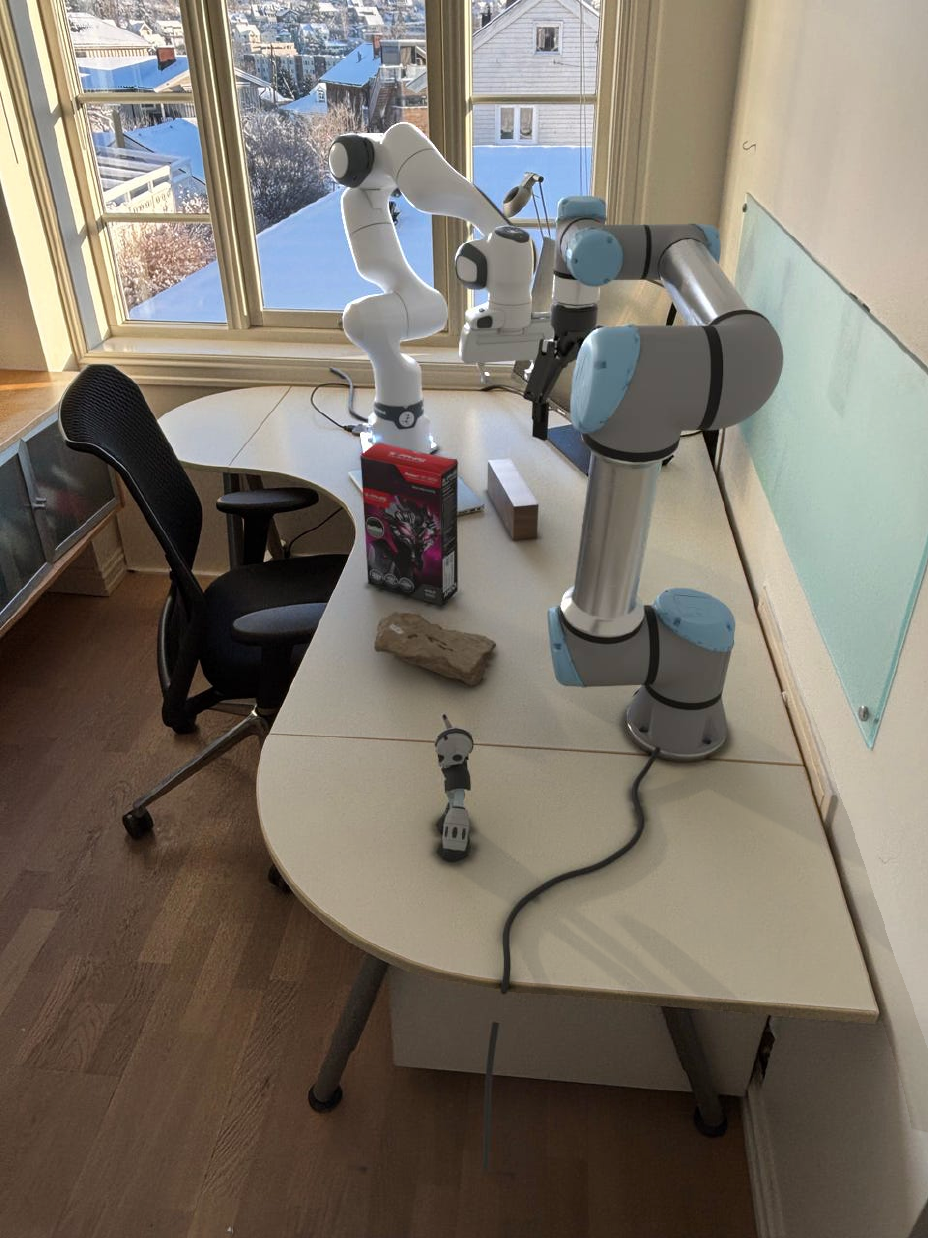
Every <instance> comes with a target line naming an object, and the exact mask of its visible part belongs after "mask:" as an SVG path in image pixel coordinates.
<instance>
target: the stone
mask: <svg viewBox="0 0 928 1238" xmlns="http://www.w3.org/2000/svg"><path fill="white" fill-rule="evenodd" d="M496 647H497V642H496V641H494V640H493V639H491V638H489V637H487V636H486V635H482V634H477V633H470V632H465V631H464V632H462V631H459V630H457V629H447V628H442V627H441V626H440V624H438V623H432V622H431V621H430V620H429V619H427V618H425V617H423V616H422V614H419V613H412V612H398V611H395V612H392V613H389V614H387V615H386V616H384V617H383V618H380V620H379V621H378V623H377V627H376V636H375V641H374V647H373V649H374V651H375V652H377V653H380V652H381V653H382V652H383V653H389V654H391V655H392V656H393V657H394V659H395V660H397V661H402V662H407V664H410V665H414V666H420V667H421V668H423V669H427V670H430V671H432V672H433V673H437V674H439V675H441V676H443V677H445V678H449V679H458V680H460V681H462V682H463V683H465V684H467V685H470V686H476V685H478V684H479V683H480V682H481V680H482V678H483V676H484V673H485V667H486V665H487V663H488V661H489V659H490V656H491V655H492V654H493V652H494V649H495V648H496Z"/></svg>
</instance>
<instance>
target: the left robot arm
mask: <svg viewBox="0 0 928 1238" xmlns="http://www.w3.org/2000/svg"><path fill="white" fill-rule="evenodd" d="M327 166H328V170H329V173H330V176H331V178H332V179H333V181H334V182H335V183H337V184H338V185H340V186H342V187H344V188H346V189H345V190H344V192H343V193H342V195H341V199H340V204H341V206H340V207H341V213H342V214H341V215H342V220H343V225H344V230H345V234H346V238H347V241H348V245H349V248H350V251H351V255H352V258H353V261H354V264H355V268H356V271H357V272H358V274H359V275H360V276H361V278H363V280H366V281H368V282H370V283H372V284H375V285H376V286H378V287H379V288H380V289H381V290H382V291H383V292H384V293H378V294H372V295H366V296H363V297H361V298H358V299H355V300H353V301H351V302H349V303H348V304H347V305H346V307H345V309H344V311H343V315H342V327H343V331H344V333H345V336H346V337H347V338H348V340H349V341H350V342H351V343H352V344H353V345H355V346H356V347H358V348H359V349H361V350H362V351H363V352H364V353H365V355H366V356H367V357H368V360H369V361H370V363H371V367H372V370H373V377H374V385H375V386H374V387H375V398H374V401H373V412H372V413H371V414H370V415H369V416H368V417H364V416H362V415H360V414H358V413H357V412H356V411H355V410H354V409H353V397H354V385H353V382H352V380H351V378H350V377H349V376H348V375H347V374H346V373H344V372H342V371H340V370H339V369H336V368H335V367H332V366H329V367H328V369H329V370H330V371H332V372H334V373H336V374H338V375H340V376H342V377H343V378H344V379H345V380H346V381H347V382H348V385H349V397H348V410H349V412H350V414H351V415H352V416H354V417H355V418H357V419H358V420H360V421H363V422H366V423H363V424H362V432H360V434H359V440H360V444H361V449H362V454H363V453H364V452H365V451H366V450H367V449H368V448H370V447H371V446H373V445H374V444H376V443H378V442H379V443H384V444H388V445H392V446H397V447H401V448H405V449H410V450H414V451H418V452H422V453H427V454H431V453H432V452H434V451H436V450H437V449H438V446H437V443H435V442H434V441H433V440H434V438H433V436H432V434H431V433H432V432H431V423H430V422H431V421H430V418H429V417H428V416H427V415H426V414H424V413H425V401H424V400H425V399H424V397H423V392H422V391H423V387H422V386H423V385H422V382H423V381H422V369H421V366H420V364H419V363H418V362H417V360H415V359H414V358H412V357H411V356H409V355H406V354H404V353H402V351H401V343H402V342H407V341H413V340H419V339H425V338H428V337H430V336H433V335H435V334H436V333H439V332H441V331H442V330H444V329H445V327H446V325H447V322H448V319H449V307H448V303H447V301H446V299H445V297H444V296H443V294H442V293H441V292H440V291H438V290H437V289H435V288H433V287H432V286H429V285H428V284H427V283H426V282H424V281H423V280H422V279H421V278H420V277H419V276H418V275H417V274H416V273H415V271H414V269H412V267H411V266H410V264H409V262H408V261H407V259H406V257H405V253H404V252H403V248H402V246H401V243H400V240H399V236H398V234H397V231H396V227H395V224H394V221H393V217H392V215H391V212H390V211H391V210H390V206H389V205H390V204H389V202H390V199H391V197H392V198H396V199H398V198H400V197H401V196H403V197H404V198H405V200H406V201H407V202H408V203H409V204H410V205H411V206H412V207H413V208H414V209H416V210H417V211H419V212H422V213H425V214H429V215H438V216H447V217H451V218H452V217H453V218H458V219H461V220H463V221H466V222H468V223H470V225H472V226H473V227H474V228H475V229H476V230H477V231H478V232H479V233H480V234H481V236H483V237H480V238H475V239H472V240H469V241H466V242H463V243H462V244H461V245H460V246H459V248H458V249H457V252H456V254H455V259H454V260H455V261H454V266H455V267H454V268H455V274H456V277H457V279H458V281H459V282H460V283H461V285H462V286H463V287H464V288H465V289H467V290H472V291H480V290H484V291H486V292H487V295H488V296H487V302H486V303H483V304H480V305H477V306H476V307H473V308H470V309H468V310H466V311H465V313H464V318H465V322H466V323H465V324H464V325H463V326H462V329H461V331H460V337H459V346H458V347H459V348H458V355H459V358H460V360H461V361H462V362H463V363H464V364H466V365H471V364H475V366H476V368H477V369H478V371H479V373H480V381H481V383H482V384H490V383H491V381H490V379H491V375H490V374H489V372H485V370H484V369H483V368H485V367H486V363H487V364H489V363H502V362H517V361H518V362H519V361H530V362H531V364H530V366H529V368H528V369H524V380H525V381H529V378H530V375H531V372H532V369H533V366H534V363H535V361H536V358H537V355H538V350H539V342H540V340H541V339H546V340H552V339H553V336H554V329H553V327H552V326H551V324H550V317H551V311H545V312H532V305H533V304H532V303H533V302H532V301H533V296H532V292H531V286H532V282H533V279H534V275H535V273H536V271H537V270H538V266H539V260H540V257H539V250H538V247H537V245H536V243H535V241H534V239H532V237H531V235H530V233H529V232H528V231H526V230H525V229H524V228H521V227H519V226H516V225H515V224H513V222H512V221H511V220H510V219H509V218H508V217H507V216H506V214H504V213H503V212H502V210H500V208H499V207H498V206H497V205H496V204H495V203H494V202H493V200H492V199H490V198H489V196H488V195H487V194H486V193H485V192H484V191H483V190H482V189H481V188H480V187H479V186H478V185H476V184H475V183H474V182H472V181H471V180H469V179H467V178H466V177H465V176H463V175H462V174H461V173H459V172H458V171H457V170H456V169H454V167H453V166H451V165H450V164H449V163H448V162H447V161H446V159H445V158H444V157H443V155H442V154H441V153H440V152H439V150H438V149H437V148H436V146H435V145H434V144H433V142H432V141H431V140H430V139H429V138H428V137H427V136H426V134H424V133H423V132H422V130H420V129H419V128H418V127H417V126H415V125H414V124H412V123H410V122H399V123H396V124H393V125H391V127H389V128H388V129H387V130H386V132H385V133H377V132H373V133H353V132H351V133H345V134H341V135H338V136H337V137H335V138H334V139H333V140H332V141H331V144H330V146H329V149H328V152H327Z"/></svg>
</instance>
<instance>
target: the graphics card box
mask: <svg viewBox="0 0 928 1238" xmlns="http://www.w3.org/2000/svg"><path fill="white" fill-rule="evenodd" d="M359 458H360V470H361V486H362V487H361V488H362V504H363V518H364V534H365V535H364V537H365V551H366V572H367V584H369V585H371V586H374V587H378V588H382V589H384V590H387V591H390V592H391V591H392V592H395V593H397V594H402V595H406V596H408V597H412V598H415V599H418V600H422V601H426V602H429V603H433V604H435V605H439V606H443V605H444V604H446V602H448V601H449V600H450V599H451V598H452V597H453V596H454V595H455V594H456V593H457V592H458V589H459V584H458V583H459V576H458V575H459V574H458V573H459V555H458V554H459V553H458V552H459V551H458V550H459V548H458V547H459V545H458V542H459V541H458V537H459V536H458V535H459V534H458V532H459V531H458V506H459V505H458V503H459V502H458V494H459V493H458V490H459V489H458V484H459V483H458V482H459V481H458V480H459V479H458V477H459V475H458V473H459V468H458V467H459V461H458V458H448V457H444V456H440V455H435V454H431V453H430V454H427V453H422V452H418V451H414V450H410V449H405V448H401V447H397V446H392V445H388V444H384V443H379V442H378V443H376V444H374V445H373V446H371V447H370V448H368V449H367V450H366V451H365V452H364V453H363V452H362V454H361V455H360V457H359Z"/></svg>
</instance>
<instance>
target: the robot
mask: <svg viewBox="0 0 928 1238" xmlns="http://www.w3.org/2000/svg"><path fill="white" fill-rule="evenodd" d="M442 719H443V722H444V725H445V728H446V729H445V730H443V731H441V732H440V733H439V734H438V735H436V738H435V741H434V742H433V743H434V751H435V753H436V755H437V766H438V767H440V768H441V769H440V770H441V773H442V775H443V777H444V779H445V780H444V781H443V786H444V794H446V797H447V799H448V801H447V804H446V806H445V808H444V811H443V813H442V815H441V816H440V818H438V820H437V821H436V823H435V826H436V828H437V831H438V833H439V834H441V835H442V837H441V839H440V843H439V845H438V847H437V850H436V854H437V855H438V856H440V857H441V859H442V860H444V861H447V862H457V861H459V860H462V859H464V858H466V857H468V856H469V854H470V850H471V839H470V834H469V833H470V816H469V811H468V809H466V807H465V804H464V803H465V802H464V801H465V798H466V791H468V792H469V791H470V792H471V790H472V781H471V774H470V770H469V769H468V761H469V760H470V757H469V754H472V752H473V750H474V745H475V744H474V738H473V736H472V734H471V733H470V732H469V731H468V730H466V729H465V728H462V727H458V726H453V725H452V724H451V722H450V720H449V718H448V716H447V714H445V713H443V715H442ZM465 790H466V791H465Z"/></svg>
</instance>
